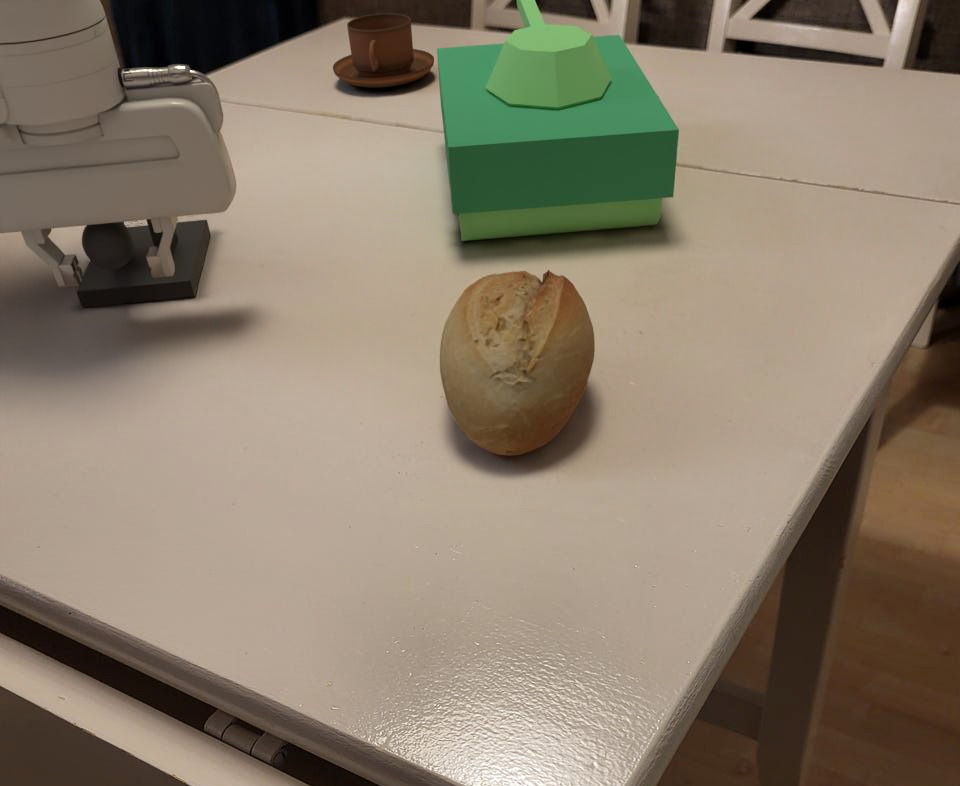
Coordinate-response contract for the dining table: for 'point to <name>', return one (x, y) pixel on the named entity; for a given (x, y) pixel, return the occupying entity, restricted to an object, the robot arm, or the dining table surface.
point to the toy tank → (553, 133)
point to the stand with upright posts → (149, 269)
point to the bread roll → (516, 359)
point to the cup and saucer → (382, 53)
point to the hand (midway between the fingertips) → (118, 278)
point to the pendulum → (108, 244)
